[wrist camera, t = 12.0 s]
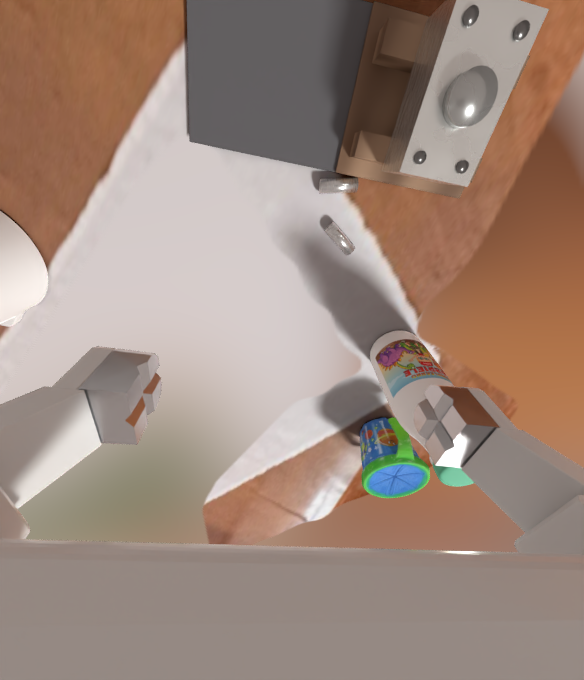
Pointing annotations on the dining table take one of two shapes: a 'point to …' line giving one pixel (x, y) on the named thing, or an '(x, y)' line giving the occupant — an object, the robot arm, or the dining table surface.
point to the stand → (385, 98)
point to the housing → (460, 87)
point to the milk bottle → (410, 386)
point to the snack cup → (390, 460)
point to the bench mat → (274, 75)
